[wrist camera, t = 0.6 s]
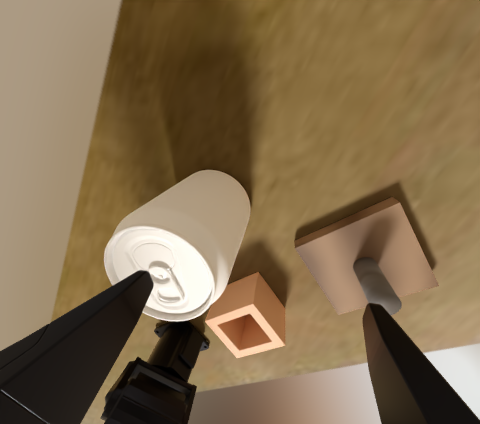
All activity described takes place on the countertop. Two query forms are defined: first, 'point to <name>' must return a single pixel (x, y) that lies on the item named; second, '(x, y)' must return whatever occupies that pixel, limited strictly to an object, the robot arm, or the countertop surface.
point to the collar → (248, 317)
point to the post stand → (367, 259)
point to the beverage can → (183, 244)
